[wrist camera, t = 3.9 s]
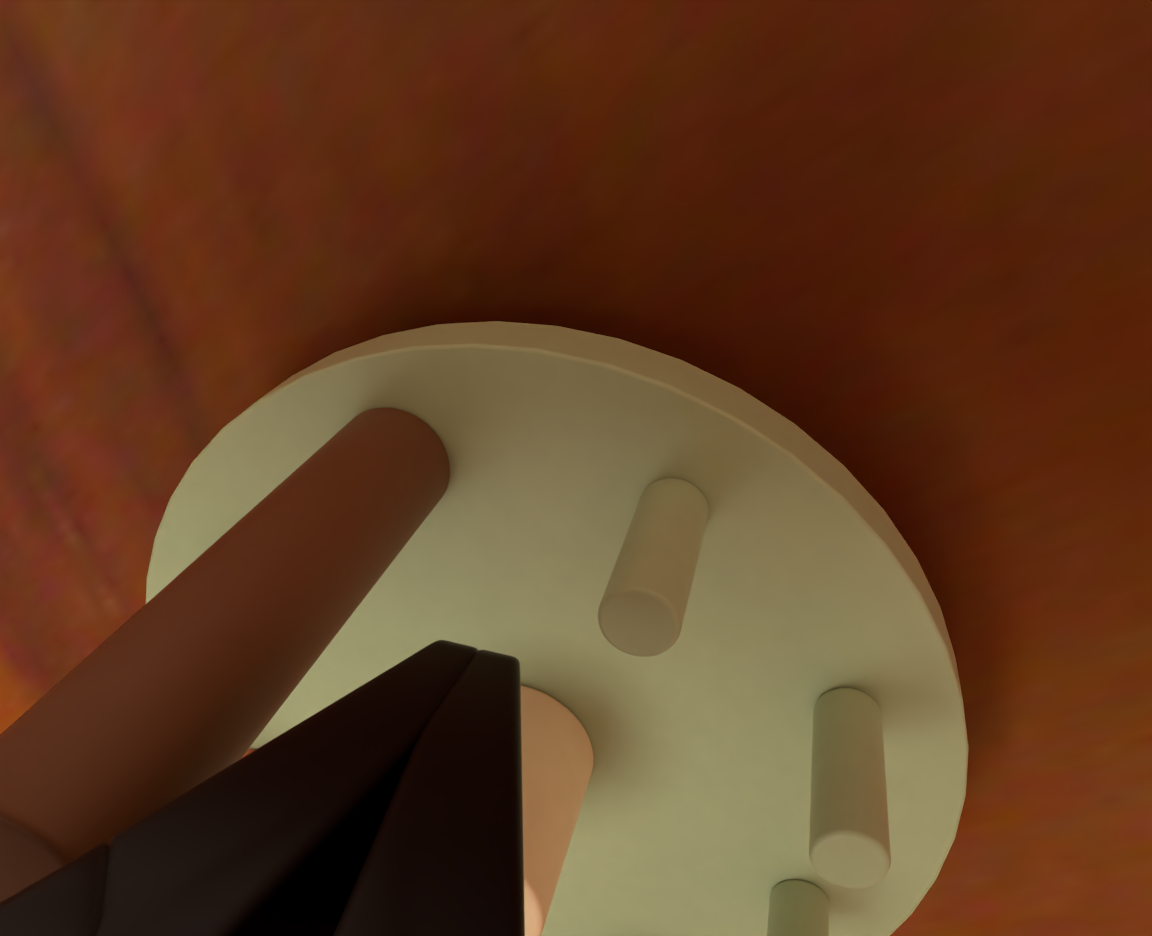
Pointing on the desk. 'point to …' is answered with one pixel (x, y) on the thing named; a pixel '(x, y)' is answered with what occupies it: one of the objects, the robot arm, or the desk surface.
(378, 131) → the desk surface
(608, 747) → the pegged crank wheel
